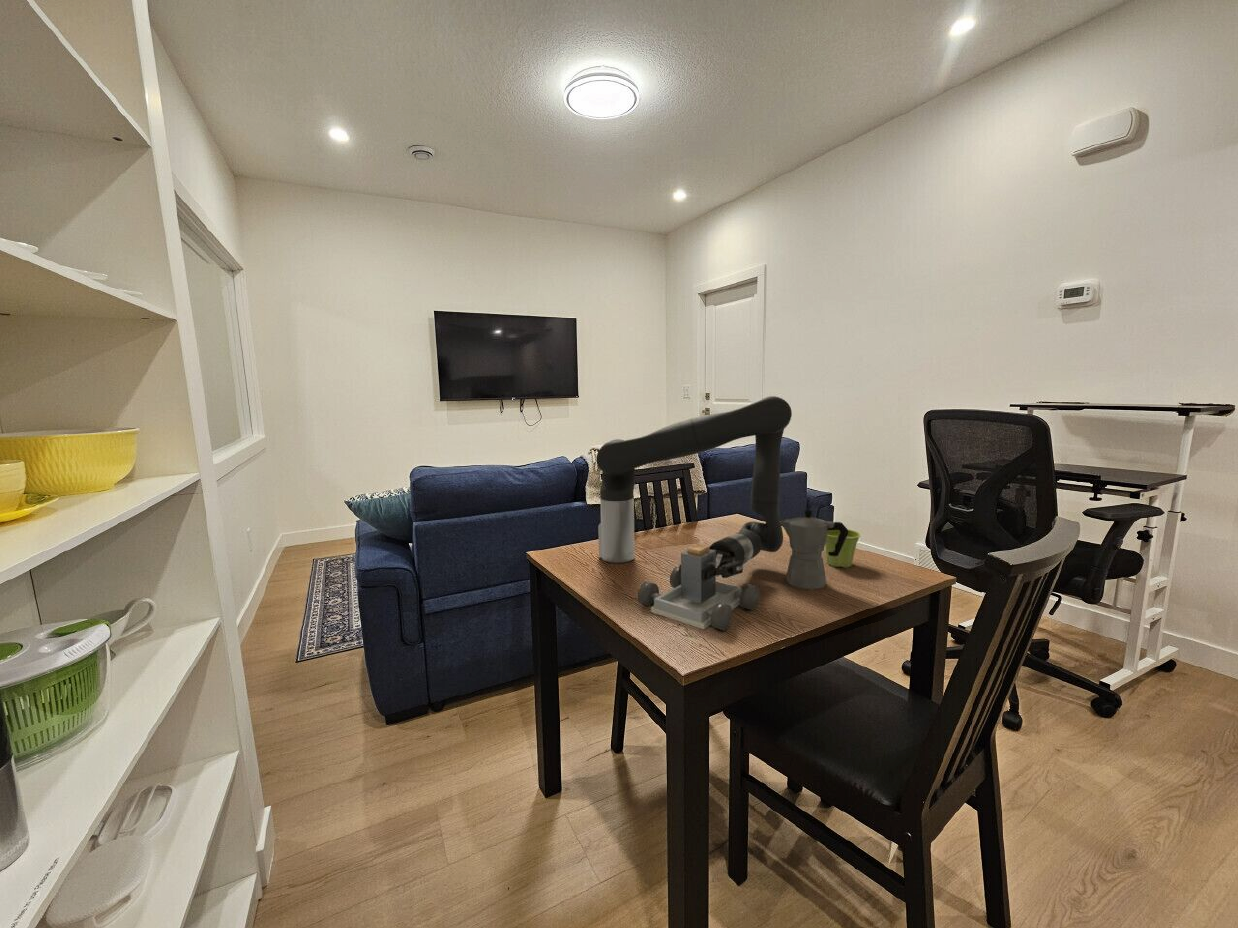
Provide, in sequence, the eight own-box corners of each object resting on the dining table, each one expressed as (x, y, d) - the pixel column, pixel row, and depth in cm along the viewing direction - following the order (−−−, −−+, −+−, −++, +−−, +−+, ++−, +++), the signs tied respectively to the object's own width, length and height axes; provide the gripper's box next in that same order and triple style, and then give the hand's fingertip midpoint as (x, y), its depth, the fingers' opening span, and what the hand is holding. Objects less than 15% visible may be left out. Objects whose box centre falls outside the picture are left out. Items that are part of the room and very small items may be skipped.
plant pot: (834, 556, 143) (835, 525, 141) (866, 565, 135) (868, 533, 133) (812, 562, 138) (814, 531, 136) (844, 572, 130) (846, 539, 128)
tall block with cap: (681, 597, 110) (680, 548, 109) (696, 589, 115) (696, 541, 113) (701, 603, 107) (701, 553, 106) (715, 594, 112) (716, 545, 110)
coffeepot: (774, 585, 122) (776, 511, 120) (780, 572, 131) (782, 503, 128) (845, 595, 116) (848, 517, 113) (846, 581, 124) (849, 508, 122)
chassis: (638, 607, 111) (637, 585, 111) (681, 584, 124) (681, 564, 123) (719, 634, 98) (719, 609, 98) (759, 605, 111) (759, 583, 110)
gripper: (704, 532, 125) (663, 549, 112) (759, 542, 116) (722, 563, 103) (704, 561, 126) (664, 582, 113) (759, 574, 117) (721, 598, 104)
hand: (692, 572), depth 108 cm, fingers closed on tall block with cap, 5 cm apart
